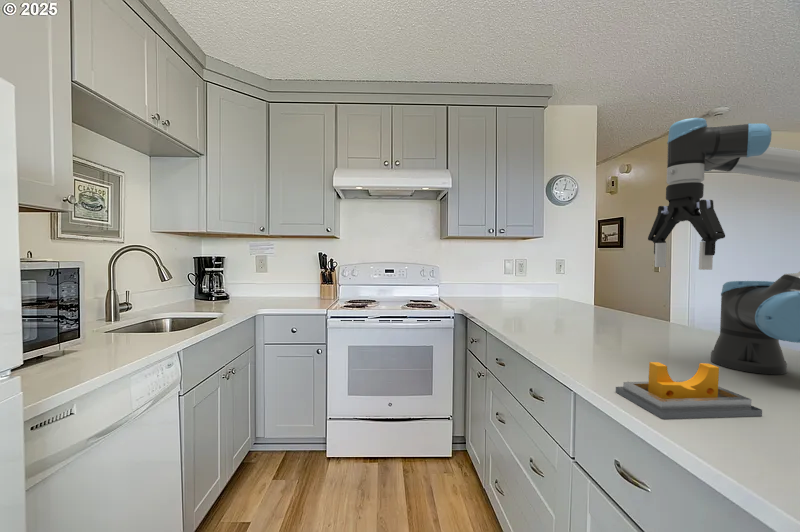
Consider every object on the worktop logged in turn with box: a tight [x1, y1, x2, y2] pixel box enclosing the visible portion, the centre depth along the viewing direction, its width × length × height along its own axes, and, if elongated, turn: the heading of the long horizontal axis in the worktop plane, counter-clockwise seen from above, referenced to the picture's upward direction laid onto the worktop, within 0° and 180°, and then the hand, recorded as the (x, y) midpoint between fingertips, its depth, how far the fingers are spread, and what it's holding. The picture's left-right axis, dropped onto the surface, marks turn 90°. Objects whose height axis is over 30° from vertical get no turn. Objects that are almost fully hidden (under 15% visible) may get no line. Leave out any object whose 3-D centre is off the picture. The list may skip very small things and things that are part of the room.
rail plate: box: [615, 380, 763, 420], centre depth 75 cm, size 20×13×3 cm, turn 95°
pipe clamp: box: [648, 361, 720, 399], centre depth 75 cm, size 12×4×6 cm, turn 87°
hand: (681, 268), depth 94 cm, fingers open, 13 cm apart
